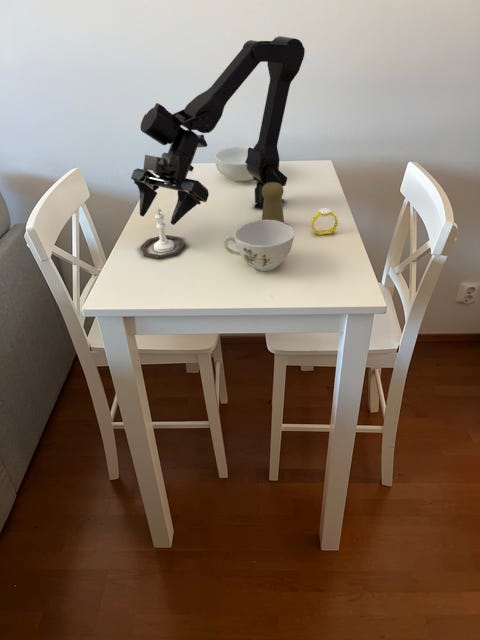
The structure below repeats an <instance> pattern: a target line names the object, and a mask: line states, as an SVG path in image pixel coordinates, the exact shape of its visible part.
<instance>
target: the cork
mask: <svg viewBox="0 0 480 640" xmlns="http://www.w3.org/2000/svg"><path fill="white" fill-rule="evenodd" d="M284 193H285V192H284V186H282V185H281V184H279V183H276V182H270V183H266V184H265V185H264V186H263V188H262V196H263V197H264V203H263V209H262V213H261V220H275V221H279V222H282V223H285V217H284V210H283V203H282V201H281V197H282V198H283V195H284Z"/></svg>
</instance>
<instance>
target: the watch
mask: <svg viewBox="0 0 480 640" xmlns="http://www.w3.org/2000/svg"><path fill="white" fill-rule="evenodd" d="M320 216H321V217H327V216H332V218H334V224H333V226H332V227H331V228H330V229H327V230H321V231H319V230H317V229H316V228H315V221H316V220H317V218H319V217H320ZM338 225H339V224H338V218H337V216H336V214H335V213H334V212H333V211H331V209H330V208H326V207H324V208H320V209H319V210H318V212H317V213H315V214H314V215H313V217H312V219H311V229H312V230H313V232H314V233H315V234H316V235H318V236H322V235H329V234H330V235H331V234H333V233H334V232H335V231H336V229H337V227H338Z"/></svg>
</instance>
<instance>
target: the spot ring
mask: <svg viewBox="0 0 480 640" xmlns="http://www.w3.org/2000/svg"><path fill="white" fill-rule="evenodd" d="M165 236H166V239H168V240H171V241H173V242H177V243H178V245H179V246H178V247H177V248H176V249H175V250H174V251H171V252H165V253H163V254H157V253H152V252H148V250H147V247H148V246H150V245H151V244H152V243H156V242H157V241H159V236H155V237H151V238H148V239H147V240H146V241H145V242H143V243H142V244H141V245H140V247H139V248H140V251H141V253H142V255H143V256H144V257H145V258H150V259H155V260H164V259H169V258H172V257H175V256H177V255H179V254H180V253H181V252H183V250H184V249H185V248H186V244H185V242H184V241H183V239H182V237H180V236H174V235H166V234H165Z"/></svg>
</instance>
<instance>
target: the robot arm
mask: <svg viewBox="0 0 480 640" xmlns="http://www.w3.org/2000/svg"><path fill="white" fill-rule="evenodd" d="M305 53H306V50H305V46H304V45H303V42H302V41H301V40H300V39H298V38H295V37H294V38H293V37H290V36H289V37H288V36H282V35H281V36H280V35H278V36H275V38H274V39H273V40H253V39H249V40H247V41H246V42H244V44H243V46H242V48H241V50H240V51H239V52H238V53H237V54H236V56H235V57H234V58H233V59H232V61H231V62H230V63H229V64H228V65H227V67H226V68H225V69H224V70H223V72H221V74H220V75H219V77H217V79H216V80H215V81H214V82H213V84H212V85H211V86H210V87H209V88H207V90H205V91H203V92H201V93H200V94H198V95H196V96H195V97H194V98H192V100H191V101H190V102H188V104H186V105H185V107H184V108H183V109H181V110H178V111H177V112H174V113H172V112H170V111H169V110H167V108H166V107H165V106H163V105H162V104H160V103H159V102H156V103H155V105H154V107H152V108H150V109H149V110H148V111H147V113H145V114H144V115H143V117H142V119H141V122H140V127H139V128H140V131H141V132H142V133H144V134H145V135H147V136H148V137H150V138H151V139H153V140H154V141H156V142H157V143H158V144H160V145H161V146H166V145H168V144H169V145H170V146H169V149H168V151H167V152H163V153H162V154H161V156H156V155H155V156H154V155H149V154H144V161H143V168H135V169H133V171H132V174H131V177H130V179H131V180H132V181H133V183H134V184H135V185H136V186H137V188H138V192H139V216H141V217H142V218H143V217H145V215H146V214H147V213H148V211H149V209H150V208H151V206H152V204H153V202H154V200H155V198H156V197H157V195H158V192H157V190H158V189H160V188H164V189H168V190H174V191H177V201H176V204H175V207H174V209H173V211H172V212H173V213H172V216H171V219H170V224H171V225H173V226H175V225H176V224H177V223H178V222H179V221H180V220H181V219H182V218H183V217H184V216H185V215H186V214H187V213H189V212H190V211H192V209H194V208H195V207H196V206H198V205H199V206H201V204H202V203H206V202H207V201H208V198H209V196H210V193H209V190H208V188H207V187H206V186H205V185H203V184H202V183H201V182H200V181H199V180H196V179H191V178H187V176H188V174H189V172H193V171H194V166H193V165H192V163H193V161H194V158H195V155H196V151H197V149H199V148H207V147H208V143H207V140H206V139H205V135H204V134H209V133H211V132H212V131H213V130H215V129H216V126H217V125H218V123H219V122H220V120H221V118H222V117H223V113H224V109H225V106H227V103H228V101H230V99H231V98H232V97H233V96H234V94H235V93H236V92H237V91H238V89H239V88H240V87H241V86H242V85H243V84H244V82H245V81H246V80H247V79H248V77H249V76H251V74H252V72H253V71H254V70H255V69H256V68H257V66H258V65H260V63H267V69H268V75H269V83H268V89H267V93H266V99H265V105H264V108H263V109H264V110H263V114H262V119H261V124H260V129H259V135H258V140H257V142H256V144H255V145H254V146H253V147H254V148H251V147H249V148H248V156H247V159H246V161H245V163H246V164H247V170H248V172H249V173H250V174H251V175H252V176H253V181H256V183H255V188H254V203H255V204H254V208H255V209H262V210H263V203H264V197H263V196H262V188H263V186H264V185H265V184H266V183H270V182H276V183H279V184H281V185H282V187H285V186H287V185H286V184H287V180H288V176H286V175H285V174H284V173H283V172H281V170H280V155H279V150H278V143H279V138H280V134H281V128H282V125H283V119H284V115H285V111H286V105H287V100H288V97H289V93H290V87H291V83H293V80H294V79H295V78H296V76H297V75H298V74H299V72H300V70H301V67H302V64H303V62H304V58H305ZM183 127H184V128H183ZM194 131H197V132H199V133H202V134H197V133H196V132H194ZM151 171H152V172H153V173H152V172H151ZM281 201H282V204H284V203H285V199H284V198H283V196H282V197H281ZM201 202H202V203H201Z"/></svg>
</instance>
